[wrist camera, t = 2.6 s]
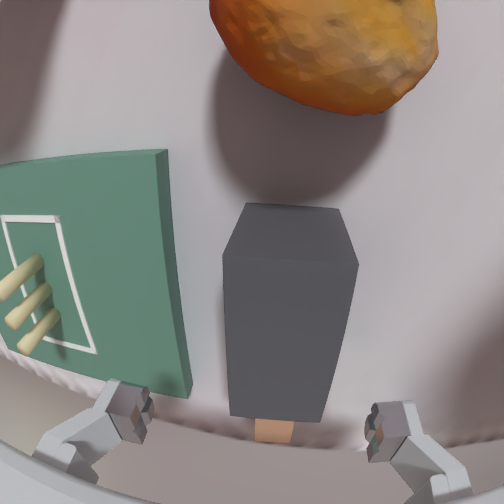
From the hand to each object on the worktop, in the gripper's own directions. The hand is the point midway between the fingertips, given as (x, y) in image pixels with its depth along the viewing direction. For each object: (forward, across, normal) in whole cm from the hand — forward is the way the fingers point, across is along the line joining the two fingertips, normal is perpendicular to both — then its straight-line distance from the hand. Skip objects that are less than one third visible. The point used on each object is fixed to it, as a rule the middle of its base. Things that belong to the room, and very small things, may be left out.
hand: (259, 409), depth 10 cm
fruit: (+8, -2, -14) cm, 16 cm away
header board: (+8, +14, 0) cm, 16 cm away
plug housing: (+8, -1, +1) cm, 8 cm away
